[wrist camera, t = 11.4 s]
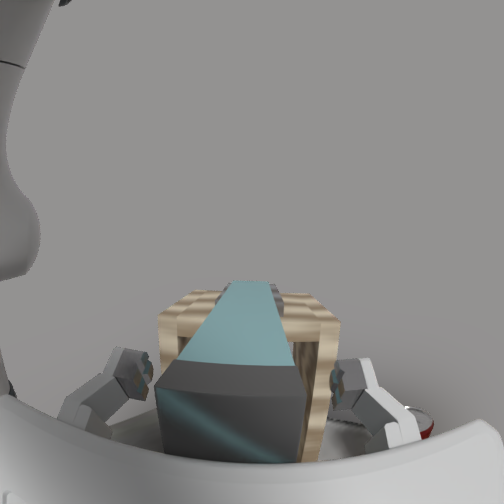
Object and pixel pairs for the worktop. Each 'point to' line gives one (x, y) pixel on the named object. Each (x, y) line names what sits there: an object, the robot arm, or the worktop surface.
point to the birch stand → (296, 330)
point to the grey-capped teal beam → (234, 385)
